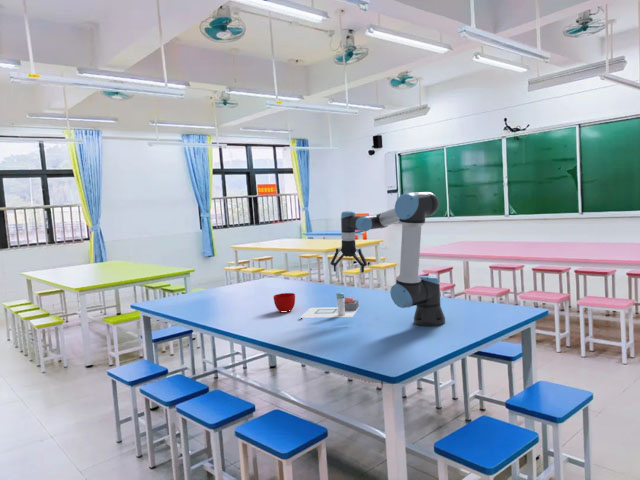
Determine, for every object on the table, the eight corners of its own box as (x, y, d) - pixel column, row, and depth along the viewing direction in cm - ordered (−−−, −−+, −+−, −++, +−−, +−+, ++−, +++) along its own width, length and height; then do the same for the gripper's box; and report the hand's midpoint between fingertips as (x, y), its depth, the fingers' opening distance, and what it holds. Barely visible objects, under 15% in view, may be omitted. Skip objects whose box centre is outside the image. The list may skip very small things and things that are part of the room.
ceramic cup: (298, 307, 288) (297, 291, 287) (294, 313, 271) (293, 296, 270) (278, 308, 289) (276, 292, 288) (272, 314, 272) (271, 297, 271)
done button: (353, 306, 263) (352, 298, 263) (344, 306, 264) (343, 298, 264) (354, 304, 268) (353, 296, 267) (346, 304, 269) (345, 297, 269)
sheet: (352, 319, 247) (352, 316, 246) (299, 319, 254) (298, 317, 254) (359, 308, 270) (359, 306, 270) (310, 309, 277) (310, 307, 277)
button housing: (356, 310, 261) (355, 303, 260) (340, 310, 263) (340, 303, 263) (358, 306, 269) (358, 300, 269) (343, 307, 272) (343, 300, 271)
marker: (344, 315, 251) (343, 293, 250) (337, 315, 252) (335, 294, 251) (346, 313, 255) (344, 292, 254) (338, 313, 256) (337, 292, 255)
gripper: (372, 239, 252) (372, 277, 255) (328, 238, 259) (328, 275, 262) (369, 241, 245) (370, 280, 248) (324, 240, 252) (325, 278, 255)
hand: (349, 277), depth 255 cm, fingers open, 13 cm apart
